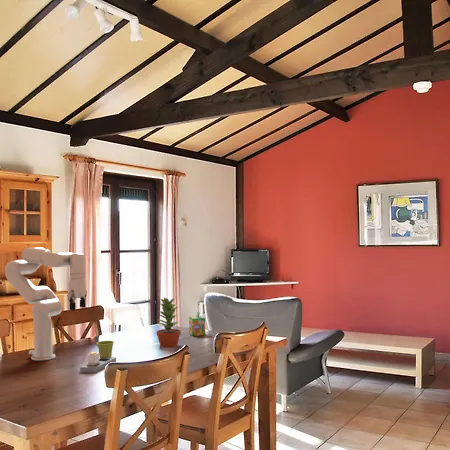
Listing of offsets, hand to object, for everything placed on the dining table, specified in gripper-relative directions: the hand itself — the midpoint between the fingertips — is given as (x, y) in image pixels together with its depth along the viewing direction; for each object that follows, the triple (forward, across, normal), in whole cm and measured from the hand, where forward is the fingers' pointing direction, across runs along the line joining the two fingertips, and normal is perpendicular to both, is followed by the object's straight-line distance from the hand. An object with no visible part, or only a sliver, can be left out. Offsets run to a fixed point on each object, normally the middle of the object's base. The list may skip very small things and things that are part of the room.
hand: (77, 308), depth 276 cm
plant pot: (+28, -11, +10) cm, 32 cm away
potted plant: (+28, -48, +32) cm, 64 cm away
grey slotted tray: (+28, +7, +16) cm, 33 cm away
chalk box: (+29, -84, +38) cm, 97 cm away
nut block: (+28, +12, +16) cm, 35 cm away
